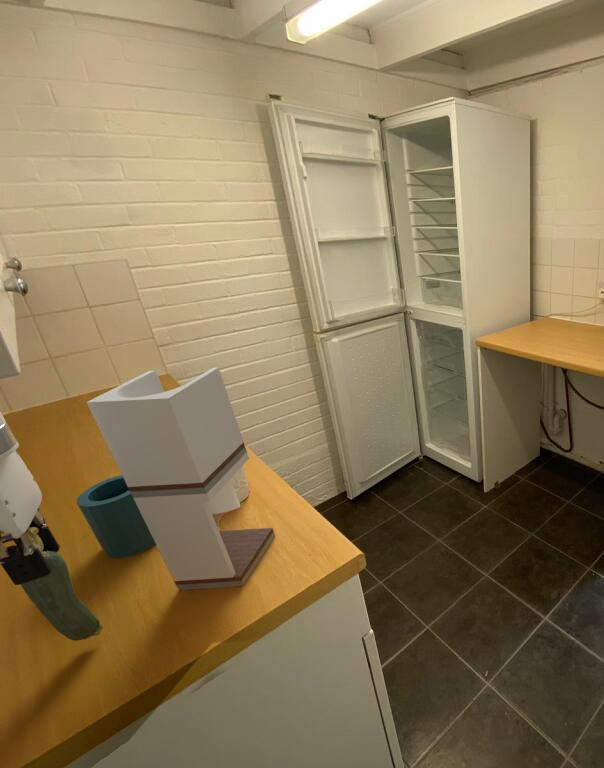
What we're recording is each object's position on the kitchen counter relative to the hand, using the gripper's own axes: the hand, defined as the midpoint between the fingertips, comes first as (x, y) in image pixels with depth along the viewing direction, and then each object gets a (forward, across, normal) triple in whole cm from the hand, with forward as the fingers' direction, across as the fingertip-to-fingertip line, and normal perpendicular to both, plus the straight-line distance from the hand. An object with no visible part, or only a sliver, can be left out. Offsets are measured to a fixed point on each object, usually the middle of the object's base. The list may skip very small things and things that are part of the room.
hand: (38, 565), depth 55 cm
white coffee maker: (+16, -6, +18) cm, 25 cm away
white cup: (+16, -27, +20) cm, 37 cm away
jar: (+16, -23, +4) cm, 29 cm away
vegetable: (+15, 0, 0) cm, 15 cm away
